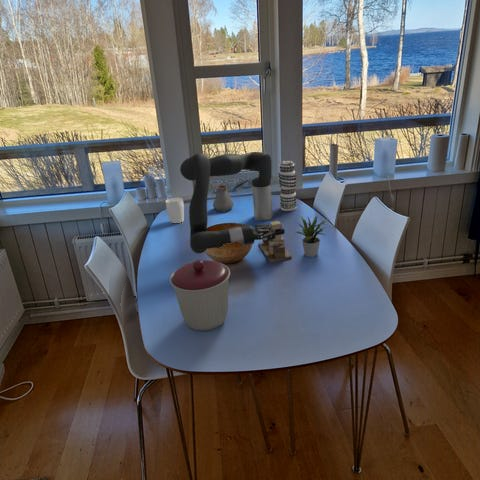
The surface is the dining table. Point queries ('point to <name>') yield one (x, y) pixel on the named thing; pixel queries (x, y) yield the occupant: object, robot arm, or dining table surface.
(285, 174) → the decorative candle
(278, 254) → the base board
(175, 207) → the cup
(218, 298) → the canister
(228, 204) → the coffee pot
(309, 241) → the house plant
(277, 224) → the tan stepped block
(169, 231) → the dining table surface
